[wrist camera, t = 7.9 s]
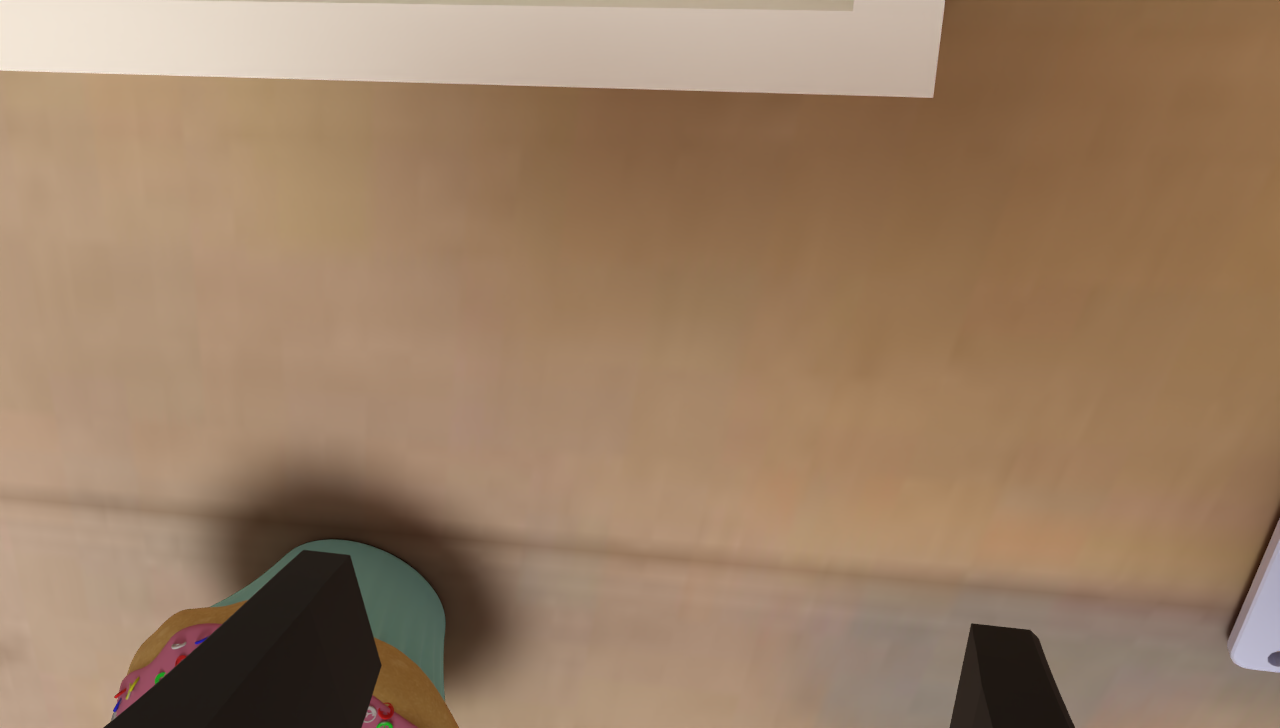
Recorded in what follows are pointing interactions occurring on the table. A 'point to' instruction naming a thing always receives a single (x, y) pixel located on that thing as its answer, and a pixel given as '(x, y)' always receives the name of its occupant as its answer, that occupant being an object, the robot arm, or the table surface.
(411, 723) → the cupcake
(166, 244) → the table surface
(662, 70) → the cream bin
